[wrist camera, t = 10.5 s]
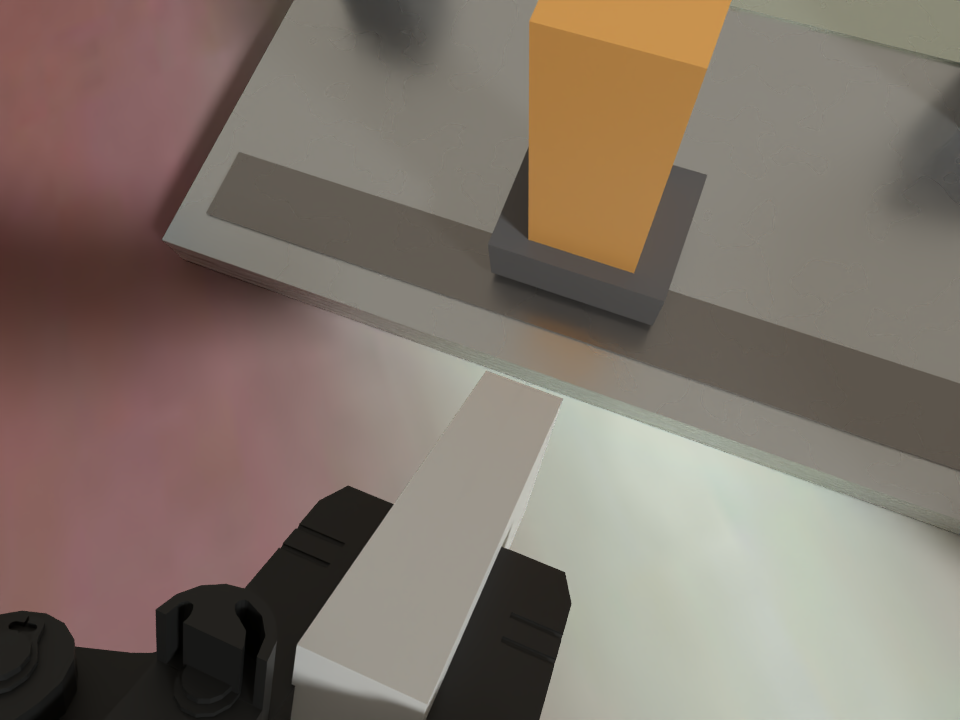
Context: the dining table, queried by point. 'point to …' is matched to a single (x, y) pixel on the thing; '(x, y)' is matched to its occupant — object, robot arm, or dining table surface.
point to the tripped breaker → (607, 151)
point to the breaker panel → (708, 246)
